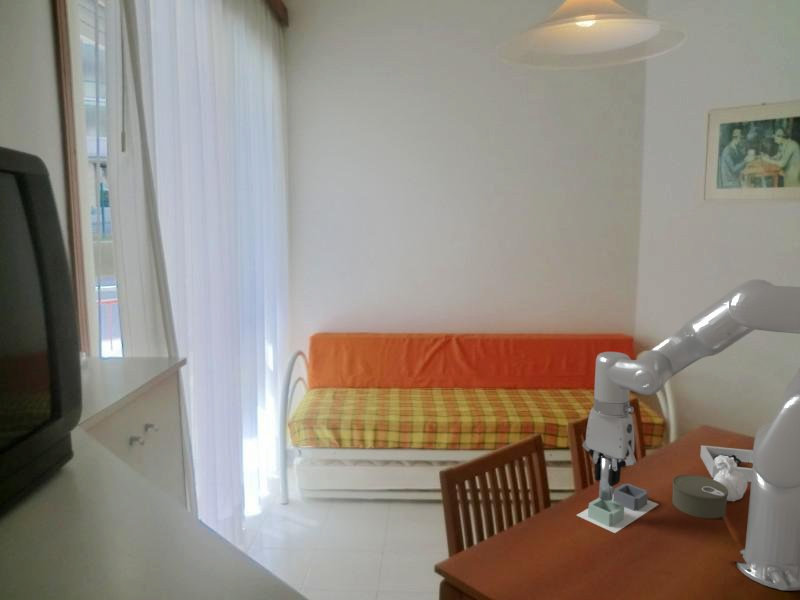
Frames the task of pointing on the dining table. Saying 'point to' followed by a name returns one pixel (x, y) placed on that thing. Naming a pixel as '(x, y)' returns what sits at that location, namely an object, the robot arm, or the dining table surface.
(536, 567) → the dining table surface
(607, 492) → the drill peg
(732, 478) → the bust
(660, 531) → the dining table surface
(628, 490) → the tool board
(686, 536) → the dining table surface
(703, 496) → the can
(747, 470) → the controller tray
